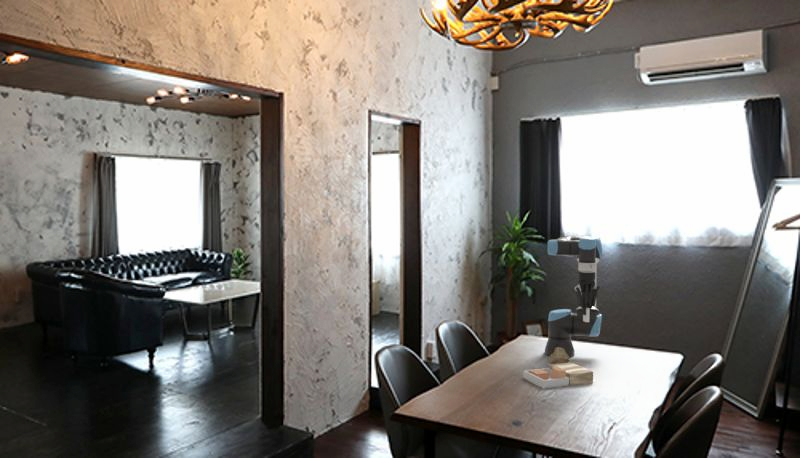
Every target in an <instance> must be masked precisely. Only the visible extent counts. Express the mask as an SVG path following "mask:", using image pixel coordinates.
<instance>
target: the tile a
mask: <svg viewBox="0 0 800 458" xmlns="http://www.w3.org/2000/svg"><path fill="white" fill-rule="evenodd" d="M537 369H538V370H533V369H529V370H530V373H531V374H533V375H535V376H537V377H539V378H541V379H543V380H548V379H549V373H548V372H546V371H544V370H542V368H537Z"/></svg>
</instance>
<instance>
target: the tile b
mask: <svg viewBox="0 0 800 458" xmlns="http://www.w3.org/2000/svg"><path fill="white" fill-rule="evenodd" d="M557 378H565V370H563V369H561V368H559V367H552V376H551V379H557Z"/></svg>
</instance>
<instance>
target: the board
mask: <svg viewBox="0 0 800 458" xmlns="http://www.w3.org/2000/svg"><path fill="white" fill-rule="evenodd" d="M552 367H559V368H561V369H563V370H565V376H567V377H569V386H577V385H579V386H580V385H586V384H593V383H594V371H593V370H591V369H588V368H585V367H583V366H581V365H578V364H576V363H574V362H573V361H572V362H570V361H569V362H568V363H559V364H550V365H549V364H548V368H549V369H552Z"/></svg>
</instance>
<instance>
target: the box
mask: <svg viewBox="0 0 800 458" xmlns="http://www.w3.org/2000/svg"><path fill="white" fill-rule="evenodd" d="M538 369H539V368H534V369H532V370H538ZM541 369H542V370H544V371H546V372H548V373H549V379H548V380H543V379H541V378H539V377H537V376H535V375H533V374H531V373H530V370H531V369H526V370H523V371H522V372H523V375H522V376H523V379H524V380H526V381H528V382H530V383H532V384H533V385H536V386H537V387H539V388H540V389H543V390H544V389H552V388H560V387H570V385H569V377H567V376H565V378H557V379H551V376H552V369H549V367H544V368H541Z"/></svg>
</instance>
